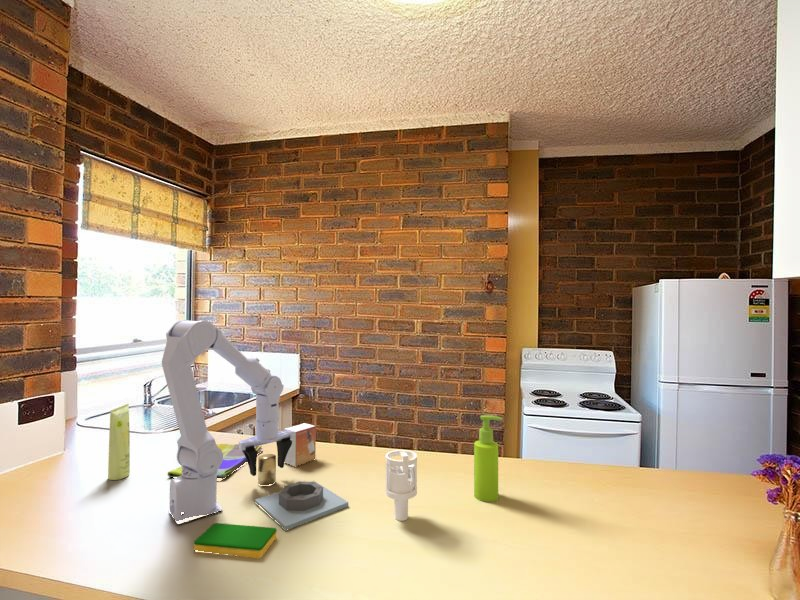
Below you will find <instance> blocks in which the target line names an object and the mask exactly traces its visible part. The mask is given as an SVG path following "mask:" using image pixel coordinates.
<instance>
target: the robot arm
mask: <svg viewBox="0 0 800 600" xmlns="http://www.w3.org/2000/svg"><path fill="white" fill-rule="evenodd" d="M165 336H166V344H165V347H164V351H163V354H162V358H161V367H162V370H163V374H164V377H165V381H166V385H167V389H168V392H169V397H170V400H171V404H172V406H173V407H172V408H173V410H174V414H175V418H176V422H177V425H178V431H179V434H180V437H179V438H178V439H177V440H176V443H177V447H178V448H177V452H176V460H177V463H178V464H179V465H180V467H181V466H182V475H180V476H179V477H177V478H174V479H173V478H171V480H170V482H169V510H170V512H171V514H172V515H173V517H174V519H175V520H176V521H179V520H183V519H185V518H189V517H193V516H199V515H207V514H211V513H214V512H217V511H220V510H222V509H223V507H221V505H220V504H219V503H218V501H217V483H218V482H217V470H218V469H219V467H220V466H221V464H222V461H223V453H222V451H221V449H220V448H219V447H218V446H217V445H216V444H217V443H216V439H215V438H214V436H213V435H212V434H211V433H210V432H209V430H208V429H207V424H206V420H205V417H204V412H203V408H202V405H201V401H200V397H199V392H198V389H197V384H196V381H195V377H194V373H193V369H192V364H194V362H195V360H197V358H198V357H199V356H200V355H202V354H203V353H204V352H205V351H207V350H208V349H209V350H213V351H214V352H215V353H216V354H217V355H219V356H220V357H221V358H223V359H224V360H225V361H227V362H228V363H230V364H231V365H232V366H233V367H235V370H234V371H235V372H234V374H235V375H236V376H237V377H239V378H240V379H241V380H243V381H244V383H246V384H247V385H248V386H249V387H250V389H251V392H252V393H253V394H255V395H256V396H255V397H256V399H255V400H256V401H255V406H256V408H255V414H256V415H255V419H256V420H255V425H256V426H255V435H254V436H252V437H251V436H250V437H248V438H245V439H242V440H240V441H238V444H239V449H240V450H242V451H243V453H244V455H245V457H246V459H247V462H248V464H247V465H248V468H249V474H250V475H251V476H252V477H255V476H257V462H258V461H257V460H258V456H257V454H258V451H256V450H255V448H254V447H255V446H262V445H268V444H271V443H275V444H276V448H277V451H276V452H277V467H279V468H280V469H283V468H285V467H284V466H285V463H284V462H285V459H286V456H287V453H288V451H289V449H290V447H291V445H292V441H291V440H290V439H293V438H294V431H292V430H287V431H284V430H281V431H280V430H279V418H280V417H279V414H280V413H279V403H280V401H281V394H282V393H283V390H284V387H285V386H284V384H283V382H282V380H281V378H280V377H279V376H277V375H272V374H271V370H270V369H268V368H265V367H264V366H263V365H262V364H261V363H260V361H261V360H260V359H259V358H258V357H253V356H245V355H244V354H243V353H242V352H241V351H240V350H239V349H238V348H237V347H236V346H235V345H234V344H233V343H232V342H231V341H230V340H229V339H228V338H227V337H226V336H225V335H224V333H223V332H222V330H221V329H219V328H218V327H215V325H214V324H213V323H212V322H210V321H208V320H189V319H181V320H178V321H177V322H175V323H173V324H172V326H171V327H170V328H169V329H168V330H167V332H166V333H165ZM222 511H223V510H222ZM181 512H184V514H182V515H181ZM174 519H173V520H174Z"/></svg>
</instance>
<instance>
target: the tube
mask: <svg viewBox="0 0 800 600" xmlns="http://www.w3.org/2000/svg"><path fill="white" fill-rule="evenodd" d="M129 408H130V406H129V403H128V402H127V403H126V404H123V405H121V406H118V407H116V408H113V409H111V410H110V415H109V438H108V462H107V464H108V466H107V467H108V468H107V469H108V470H107V479H108V480H111V481H118V480H121V479H125V478H126V477H127V478H128V476H130V471H131V470H130V466H131V462H130V461H131V459H130V457H131V455H130V453H131V452H130V451H131V450H130V449H131V448H130V446H131V445H130V443H131V441H130V438H131V435H130V434H131V433H130V409H129Z"/></svg>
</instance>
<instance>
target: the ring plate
mask: <svg viewBox="0 0 800 600" xmlns="http://www.w3.org/2000/svg"><path fill="white" fill-rule="evenodd" d="M255 502H256V503H257V504H258V505H260V506H261V507H262V508H263V509H264V510H265V511H266V512H267V513H268V514H269V515H270V516H271V517H272V518H273V519H274V520H276V521H277V522H278V523H279V524H280V525H281V526H282V527H283V528H284V529H285V530H287V529H290V528H292V529H294V528H293V527H295V526H297V527H299V526H298V525H300V524H302V525H304V524H303V523H305V524H307V523H309V522H308V521H310V522H312V521H311V520H313V521H315V520H317V519H316V518H318V519H320V518H322V516H323V517H325V516H328V515H330V514H333V513H335V512H338V511H340V510H343V509H345V508H347V507H349V501H347V500H346V499H344V498H343V497H341V496H339V495H337V494H336V493H334V492H333V491H332V490H329V489H328V488H326V486H323V485H322V484H320V483H318V482H317V481H315V480H312V481H296V482H294V483H289V484H287V485H284V486H283V487H282V488H281V490H280V491H277V492H274V493H270V494H268V495H265V496H261V497H258V498H255V499H254V503H255ZM319 517H320V518H319ZM314 519H315V520H314ZM274 520H273V521H274ZM306 522H307V523H306ZM300 526H301V525H300ZM295 528H296V527H295ZM284 529H283V530H284ZM285 530H284V531H285ZM290 530H291V529H290ZM287 531H288V530H287Z"/></svg>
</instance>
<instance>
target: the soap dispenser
mask: <svg viewBox="0 0 800 600" xmlns="http://www.w3.org/2000/svg"><path fill="white" fill-rule="evenodd" d="M480 420H481V421H482V427H479V430H478V431H479V432H478V433H479V435H478V436H479V437H478V440H475V441H474V445H473V448H474V449H473V450H474V451H473V455H474V456H473V464H474V466H473V469H474V470H473V471H474V474H473V475H474V476H473V481H474V482H473V483H474V484H473V489H474V491H473V492H474V494H473V495H474V498H475V499H477V500H478V501H481V502H485V503H490V502H491V503H492V502H495V501H497V500H498V499H499V444H498V442H496V441H494V429H492V428H491V426H490V425H491V424H490V423H491V422H490V421H492V420H493V421H498V422H502V421H503V417H501V416H498V415H494V414H493V415H492V414H490V415H489V414H484V415H483V414H481V415H480Z"/></svg>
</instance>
